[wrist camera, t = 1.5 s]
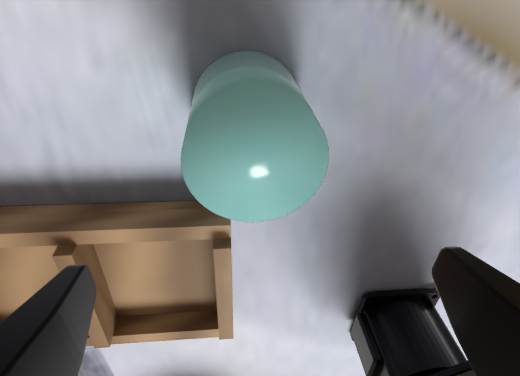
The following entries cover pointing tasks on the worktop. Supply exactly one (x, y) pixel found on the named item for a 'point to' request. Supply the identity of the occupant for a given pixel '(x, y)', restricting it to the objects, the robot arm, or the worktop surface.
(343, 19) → the worktop surface
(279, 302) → the worktop surface
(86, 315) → the robot arm
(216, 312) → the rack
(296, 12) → the worktop surface
